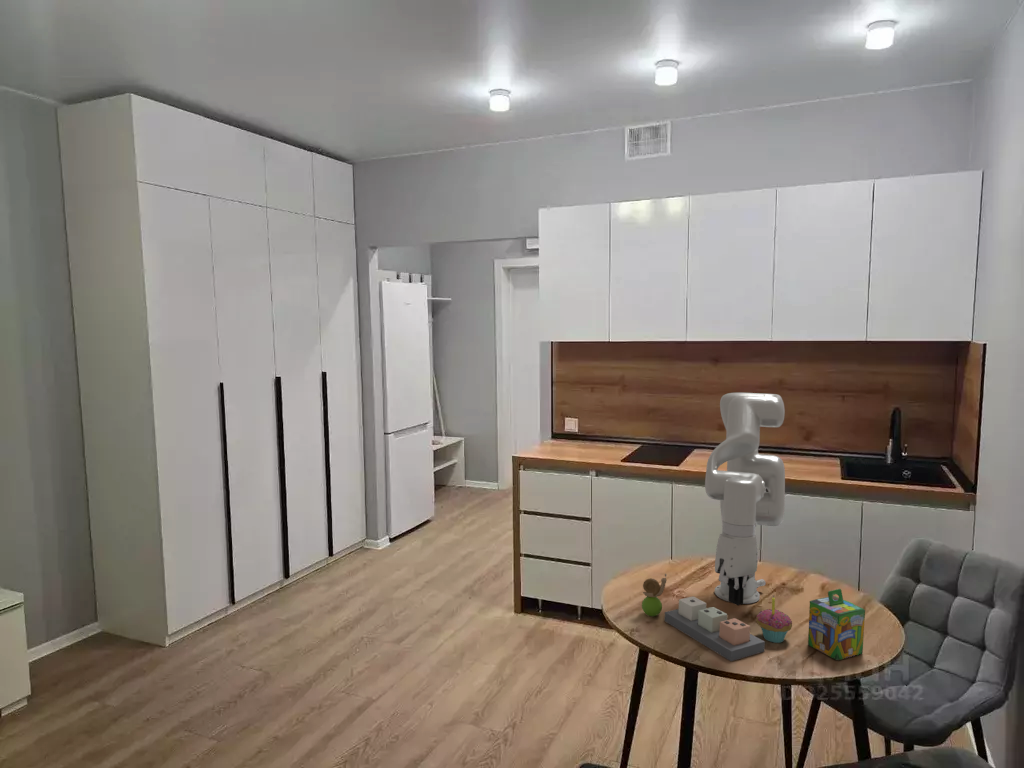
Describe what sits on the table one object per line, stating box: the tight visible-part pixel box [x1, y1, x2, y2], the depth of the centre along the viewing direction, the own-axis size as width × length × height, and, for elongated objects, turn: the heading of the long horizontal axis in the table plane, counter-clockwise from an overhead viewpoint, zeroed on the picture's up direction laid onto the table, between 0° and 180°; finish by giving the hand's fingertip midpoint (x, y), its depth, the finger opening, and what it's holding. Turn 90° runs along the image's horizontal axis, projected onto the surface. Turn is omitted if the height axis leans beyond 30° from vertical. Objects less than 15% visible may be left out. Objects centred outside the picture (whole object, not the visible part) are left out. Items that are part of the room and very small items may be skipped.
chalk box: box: [807, 588, 866, 661], centre depth 164 cm, size 9×9×15 cm
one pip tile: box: [678, 596, 707, 621], centre depth 177 cm, size 5×5×4 cm
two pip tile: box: [698, 606, 728, 633], centre depth 171 cm, size 5×5×4 cm
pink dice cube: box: [719, 617, 751, 646], centre depth 164 cm, size 5×5×4 cm
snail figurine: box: [641, 573, 667, 617], centre depth 182 cm, size 5×6×12 cm
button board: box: [664, 608, 766, 662], centre depth 171 cm, size 24×11×2 cm, turn 27°
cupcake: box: [755, 595, 793, 644], centre depth 169 cm, size 9×8×12 cm
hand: (735, 602), depth 163 cm, fingers closed
